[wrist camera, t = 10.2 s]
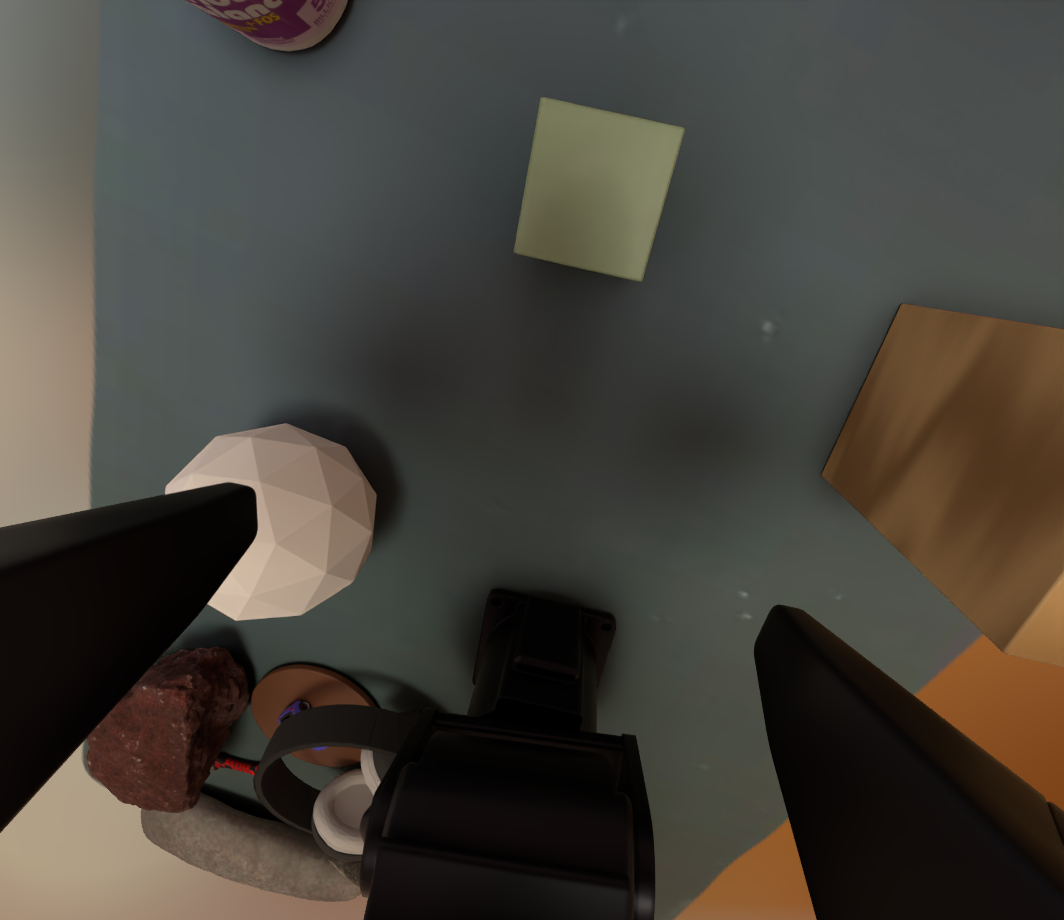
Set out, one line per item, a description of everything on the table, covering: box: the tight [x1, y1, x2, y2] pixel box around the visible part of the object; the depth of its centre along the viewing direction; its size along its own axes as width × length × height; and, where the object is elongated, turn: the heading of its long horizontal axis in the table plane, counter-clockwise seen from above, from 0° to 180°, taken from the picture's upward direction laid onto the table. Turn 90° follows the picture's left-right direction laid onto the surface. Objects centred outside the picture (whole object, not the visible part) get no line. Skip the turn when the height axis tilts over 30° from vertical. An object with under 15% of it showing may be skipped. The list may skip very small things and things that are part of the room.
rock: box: [87, 646, 249, 813], centre depth 28 cm, size 11×6×8 cm
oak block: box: [822, 304, 1064, 667], centre depth 14 cm, size 7×7×10 cm
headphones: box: [253, 704, 422, 862], centre depth 29 cm, size 10×4×20 cm
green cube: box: [514, 97, 685, 282], centre depth 16 cm, size 4×4×4 cm
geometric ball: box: [165, 423, 377, 621], centre depth 20 cm, size 8×8×8 cm
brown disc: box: [251, 665, 379, 767], centre depth 29 cm, size 8×8×2 cm
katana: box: [210, 754, 258, 775], centre depth 33 cm, size 13×2×1 cm, turn 90°
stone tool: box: [141, 792, 362, 902], centre depth 34 cm, size 17×3×5 cm
